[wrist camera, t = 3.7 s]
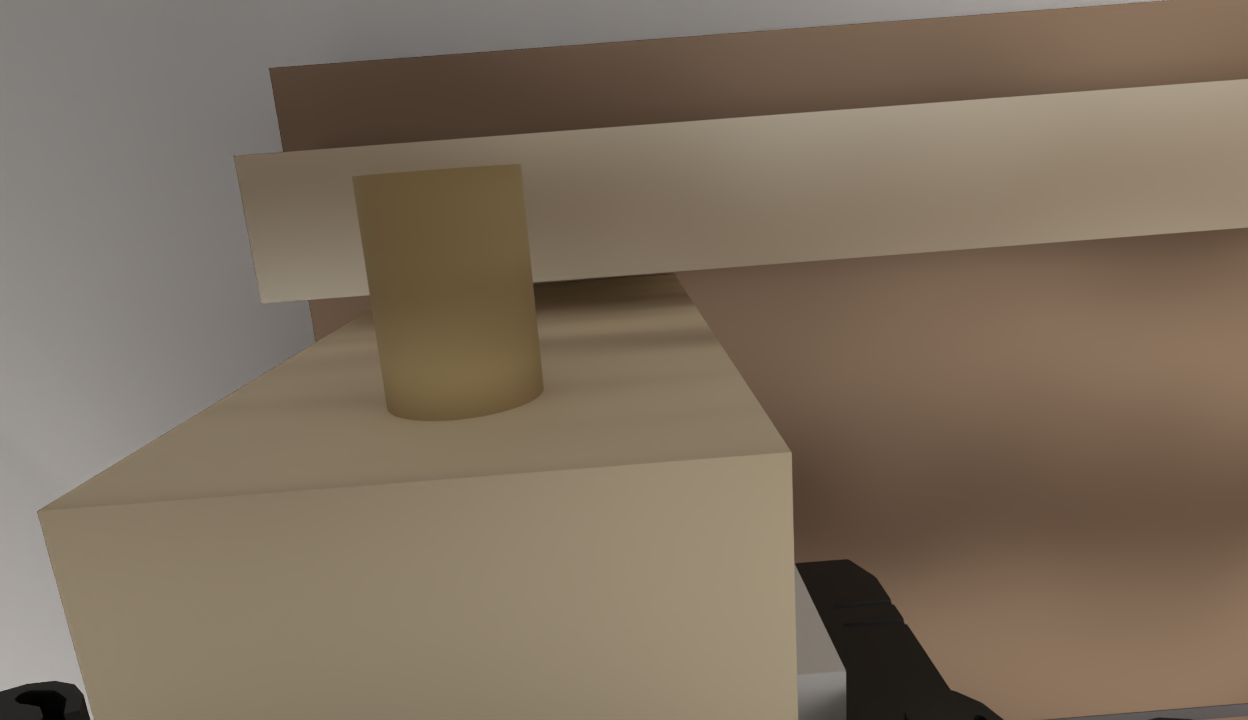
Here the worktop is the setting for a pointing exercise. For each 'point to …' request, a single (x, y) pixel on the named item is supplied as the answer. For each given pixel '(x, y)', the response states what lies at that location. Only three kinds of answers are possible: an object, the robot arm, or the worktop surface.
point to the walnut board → (898, 297)
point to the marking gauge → (451, 506)
